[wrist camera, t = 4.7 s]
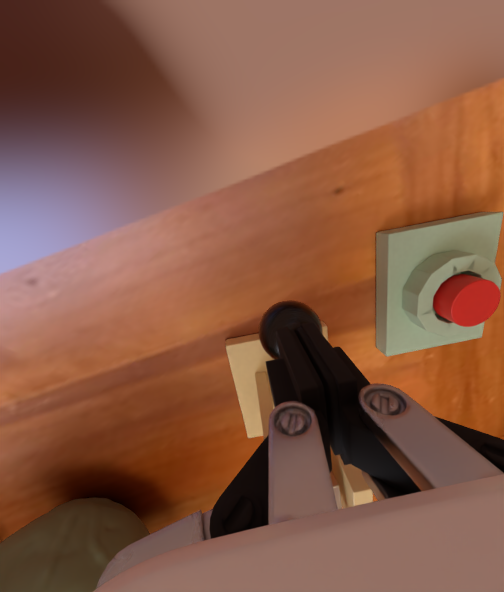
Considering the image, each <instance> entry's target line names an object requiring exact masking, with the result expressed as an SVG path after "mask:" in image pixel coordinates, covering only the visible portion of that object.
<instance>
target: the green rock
mask: <svg viewBox="0 0 504 592" xmlns="http://www.w3.org/2000/svg"><path fill="white" fill-rule="evenodd" d="M148 535H150V534H149V531H148V529H147V528H146V526H145V524H144V523H143V522H142V521H141V520H140V519H139V518H138V517H137V515H136V514H135V513H134V512H132V511H131V510H130V509H128V508H126V507H124V506H123V505H121V504H119V503H116V502H113V501H112V500H110V499H107V498H97V497H94V498H86V499H75V500H72V501H69V502H66V503H64V504H61V505H59V506H57V507H55V508H54V509H52V510H51V511H49V512H48V513H46V514H44V515H42V516H40V517H39V518H37V519H35V520H34V521H32V522H30V523H29V524H27V525H26V526H24V527H23V528H21V529H20V530H18V531H17V532H15V533H14V534H12V535H11V536H9V537H8V538H6V539H5V540H4V541H2V542H1V543H0V592H93V591H95V590H96V588H97V585H98V582H99V579H100V577H101V575H102V573H103V572H104V570H105V568H106V567H107V565H108V564H109V562H110V561H111V560H112V559H113V558H114V557H115V556H116V554H117V553H118V552H120V551H121V550H123V549H124V548H125V547H127V546H128V545H130V544H132V543H134V542H136V541H138V540H140V539H142V538H144V537H146V536H148Z"/></svg>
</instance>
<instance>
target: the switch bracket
mask: <svg viewBox="0 0 504 592" xmlns="http://www.w3.org/2000/svg"><path fill="white" fill-rule="evenodd" d="M320 322H321V324H322V330H323V336H324V337H325V338H326V340H327V341H328V332H327V326H326V324H325V323H324V322H323V321H320ZM225 347H226V351H227V355H228V359H229V363H230V367H231V371H232V375H233V379H234V383H235V387H236V391H237V395H238V399H239V403H240V407H241V411H242V415H243V419H244V423H245V428H246V432H247V436H248V438H253V437H258V436H264V440H265V438H266V437H267V436H268V434H269V416H270V414H271V412H272V410H273V409H274V408H275V406H274V402H273V398H272V393H271V388H270V383H269V378H268V373H267V368H266V361H270V360H274V359H273V358H271V357H270V356H269V355H268V354H267V353H266V352H265V350H264V349H263V347H262V345H261V343H260V339H259V333H257V334H252V335H247V336H242V337H237V338H232V339H227V340H226V345H225ZM330 450H331V461H332V470H333V473H334V475H335V477H336V480H337V482H338V484H339V490H340V497H341V504H342V508H347V507H352V506H356V505H361V504H366V503H370V502H373V492H372V490H371V489H370V487H369V486H368V484H367V483H366V481H365V479H364V477H363V475H362V471H361V470H360V469H358V468H357V467H355V466H353V465H352V464H348V465H344V463H343V461H342V459H341V457H340V455H334V453H333V451H332V449H331V446H330Z"/></svg>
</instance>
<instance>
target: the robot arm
mask: <svg viewBox="0 0 504 592" xmlns="http://www.w3.org/2000/svg"><path fill="white" fill-rule="evenodd" d="M296 332H297V335H296V333H295V331H294V330H293V329H291V330H289V328H288V327H285V328H280V329H276V336H277V342H278V348H279V355H280V359H275V360H270V361H266V368H267V373H268V378H269V383H270V388H271V393H272V398H273V402H274V406H275V408H274V409H273V410H272V412H271V414H270V416H269V434H268V436H267V437H266V438H265V440H264V441H263V442H262V443H261V445H260V446H259V447H258V449H257V450H256V451H255V452H254V454H253V455H252V456H251V458H250V459H249V460H248V461H247V463H246V464H245V465H244V467H243V468H242V469H241V470H240V472H239V473H238V474H237V476H236V477H235V478H234V479H233V481H232V482H231V483H230V485H229V486H228V487H227V488H226V490H225V491H224V492H223V494H222V495H221V496H220V497H219V499H218V501H217V502H216V504H215V506H214V508H213V509H211V510H209V511H207V512H205V513H203V514H202V512H201V510H199V511H197V512H195V513H193V514H191V515H189V516H187V517H185V518H183V519H181V520H179V521H177V522H175V523H173V524H171V525H169V526H167V527H165V528H163V529H161V530H159V531H157V532H155V533H152V534H150V535H148V536H146V537H144V538H142V539H140V540H138V541H136V542H134V543H132V544H130V545H128V546H127V547H125V548H124V549H123V550H121V551H120V552H118V553H117V554H116V556H115V557H114V558H113V559H112V560H111V561H110V562H109V564H108V565H107V567H106V568H105V570H104V572H103V573H102V575H101V577H100V579H99V582H98V585H97V588H96V590H95V591H93V592H504V440H503V439H500V438H497V437H494V436H491V435H488V434H485V433H482V432H479V431H476V430H473V429H470V428H467V427H464V426H462V425H459V424H456V423H453V422H450V421H447V420H444V419H441V418H438V417H435V416H433V415H432V414H430V413H429V412H428V411H427V410H425V409H424V408H423V407H422V406H420V405H419V404H418V403H417V402H416V401H414V400H413V399H412V398H411V397H409V396H408V395H407V394H406V393H404V392H403V391H401V390H400V389H398V388H396V387H393V386H391V385H386V384H370V383H369V382H368V380H367V379H366V378H365V377H364V376H363V374H362V373H361V372H360V371H359V369H358V368H357V367H356V366H355V365H354V363H353V362H352V361H351V360H350V358H349V357H348V356H347V355H346V354H345V352H344V351H343V350H342V349H341V348H340V347H334V348H332V346H331V345H330V344H329V342H328V341H327V340H326V338H325V337H324V336H323V335H322V333H321V332H320V331H319V329H318V328H317V327H316V325H315V324H314V323H313V322H310V323H305V324H300V328H297V329H296ZM330 446H331V449H332V451H333V453H334V455H340V457H341V459H342V461H343V463H344V465H348V464H352V465H353V466H355V467H357V468H358V469H360V470H361V471H362V475H363V477H364V479H365V481H366V483H367V484H368V486H369V487H370V489H371V490H372V492H373V493H374V495H375V496H376V498H377V499H378V501H375V502H370V503H366V504H361V505H356V506H352V507H347V508H343V509H338V507H337V503H336V498H335V494H334V489H333V485H332V481H331V476H330V473H331V471H332V461H331V450H330Z"/></svg>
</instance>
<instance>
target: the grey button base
mask: <svg viewBox="0 0 504 592" xmlns="http://www.w3.org/2000/svg"><path fill="white" fill-rule="evenodd" d="M502 218H503V212H479V213H474V214H469V215H464V216H458V217H453V218H448V219H443V220H438V221H432V222H427V223H422V224H417V225H411V226H406V227H401V228H396V229H391V230H385V231H380V232H376V347H377V348H378V349H379V350H380V351H381V352H382V353H383V354H384V355H385V356H391V355H396V354H401V353H406V352H411V351H416V350H421V349H426V348H431V347H436V346H441V345H446V344H451V343H456V342H461V341H466V340H471V339H476V338H481V337H482V333H483V327H484V322H485V321H484V322H482V323H480V324H478V325H476V326H471V327H463V326H460V325H457V324H455V323H453V322H451V321H449V320H447V319H445V318H443V317H441V316H439V315H438V314H437V313H436V312H435V310H434V308H433V297H434V295H435V293H436V291H437V290H438V288H439V287H440V285H441V283H442V282H444V281H445V280H447V279H448V278H450V277H451V276H454V275H458V274H467V275H471V276H475V277H479V278H482V279H486V280H490V281H492V282H494V283H495V284H496V285H497V286H498V288H499V290H500V287H501V281H502V280H501V279H502V278H501V276H500V274H499V272H498V269H497V267H496V265H495V258H496V252H497V247H498V241H499V235H500V229H501V224H502Z"/></svg>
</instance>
